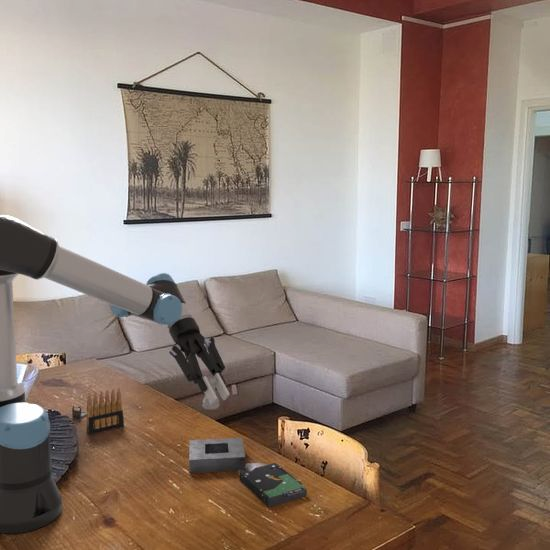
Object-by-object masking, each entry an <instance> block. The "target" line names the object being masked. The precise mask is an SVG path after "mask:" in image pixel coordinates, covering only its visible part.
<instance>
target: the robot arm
mask: <svg viewBox="0 0 550 550" xmlns="http://www.w3.org/2000/svg"><path fill="white" fill-rule="evenodd" d="M19 275H22V276H26V277H28V278H31V279H33V280H40V279H43V278H44V279H46V280H49V281H51V282H55V283H56V284H59V285H62V286H64V287H67V288H68V289H71V290H74V291H77V292H79V293H82V294H84V295H87V296H88V297H92V298H94V299H97V300H98V301H99V300H100V301H102V302H104V303H106V304H108V305H109V306H110V310H111V313H112V314H113V316H115V317H116V318H128V317H133V316H134V317H137V318H140V319H144V320H148V321H151V322H154V323H157V324H158V325H165V326H166V329H167V330H168V332H169V334H170V336H171V339H172V340H173V342H174V343H175V344H174V345H172V347H171V349H170V350H169V352H168V353H169V354H170V355H171V357H173V358H174V359H175V361H176V363H177V364H178V366H179V368H180V370H181V371H182V373H183V374H184V377H185V379H186V380H187V381H188V383H189V382H190V383H191V382H192V381H193V383H194V384H195V385H197V386H198V388H199V389H200V391H201V393H204V394H205V395H206V397H207V399H208V400H209V402H210V404H213V403H214V402H215V400H216V399H217V398H218V396H217V394H216V395H215V393H214V391H213V389H212V387H211V385H210V383H209V381H208V379H207V377H206V375H205V376H203V373H202V371H201V370H202V369H201V366H200V363H199V361H198V359H200V360H201V362H202V363H203V364H204V365H205V366H206V368H207V369H208V371H209V372H210V373H211V376H214V377H215V379H216V380H217V381H216V383H215V385H216V387H215V389H216V390H217V392H218V394H219V396H220V397H221V399H222V401H225V400H226V399H228V397H229V396H230V394H231V393H230V392H229V390H228V388H227V386H226V379H225V378H224V376H223V374H222V372H224V370H225V368H226V366H225V363H224V361H223V360H222V357H221V355H220V352H219V350H218V348H217V346H216V341H215V338H214V337H210V338H205V336H204V335H203V334H202V333H201V331H200V327H199V325H198V324H197V323H198V322H197V321H196V320H195V318H194V316H193V313H192V312H191V309H190V308H189V306H188V305H187V303H186V301H185V299H184V297H183V295H182V293H181V291H180V290H179V287H178V284H177V283H176V282H175V280H174V279H173V277H172V276H171V275H170V274H169V273H167V272H160V273H158V274H157V275H152V277H150V278H149V279H148V280H147V281H146V284H145V283H143V282H141V281H139V280H136V279H134V278H131V277H129V276H127V275H125V274H123V273H121V272H119V271H116V270H114V269H112V268H110V267H108V266H105V265H103V264H101V263H98V262H96V261H95V260H92V259H90V258H87V257H85V256H84V255H80V254H78V253H76V252H74V251H72V250H69V249H67V248H65V247H62V246H61V245H60V244H59V242H58V240H57V239H56V238H54V237H52V236H50V235H48V234H46V233H44V232H43V231H40V230H39V229H36V228H34V227H33V226H31V225H29V224H28V223H26V222H24V221H22V220H20V219H19V218H16V217H14V216H10V215H8V214H7V215H6V214H0V533H1V534H21V533H27V532H31V531H35V530H36V529H37V530H38V529H40V528H42V527H45V526H47V525H49V524H50V523H53V521H55V520H56V519H57V518H58V517H59V516H60V515H61V514H62V511H63V499H62V496H61V493H60V490H59V488H58V486H57V484H56V482H55V479H54V477H53V474H52V473H53V471H52V452H51V451H52V450H51V449H52V446H51V445H52V444H51V423H50V420H49V418H50V417H49V414H48V411H46V409H45V408H44V407H43V406H41V405H39V404H36V403H29V402H26V391H25V390H26V389H25V388H24V387H23V386H22V385H21V384H19V383H18V372H17V371H18V370H17V369H18V368H17V353H16V352H17V350H16V349H17V348H16V331H15V330H16V329H15V313H14V312H15V311H14V310H15V309H14V294H13V281H14V280H15V279H16V278H17V276H19ZM197 358H198V359H197ZM205 395H204V396H205ZM216 396H217V397H216Z"/></svg>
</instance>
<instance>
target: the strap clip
mask: <svg viewBox="0 0 550 550" xmlns="http://www.w3.org/2000/svg"><path fill="white" fill-rule="evenodd" d="M75 408H78V409H79V410H76V409H75ZM71 414H72V416H71V417H72V418H70V419H71V421H72V422H71V423H75V424H76V423H78V422H79V421H80V420H81V419H84V418H85V417H87V411H83V410H82V407H81V406H77V405H76V406H75V405H73V406H72V409H71Z"/></svg>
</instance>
